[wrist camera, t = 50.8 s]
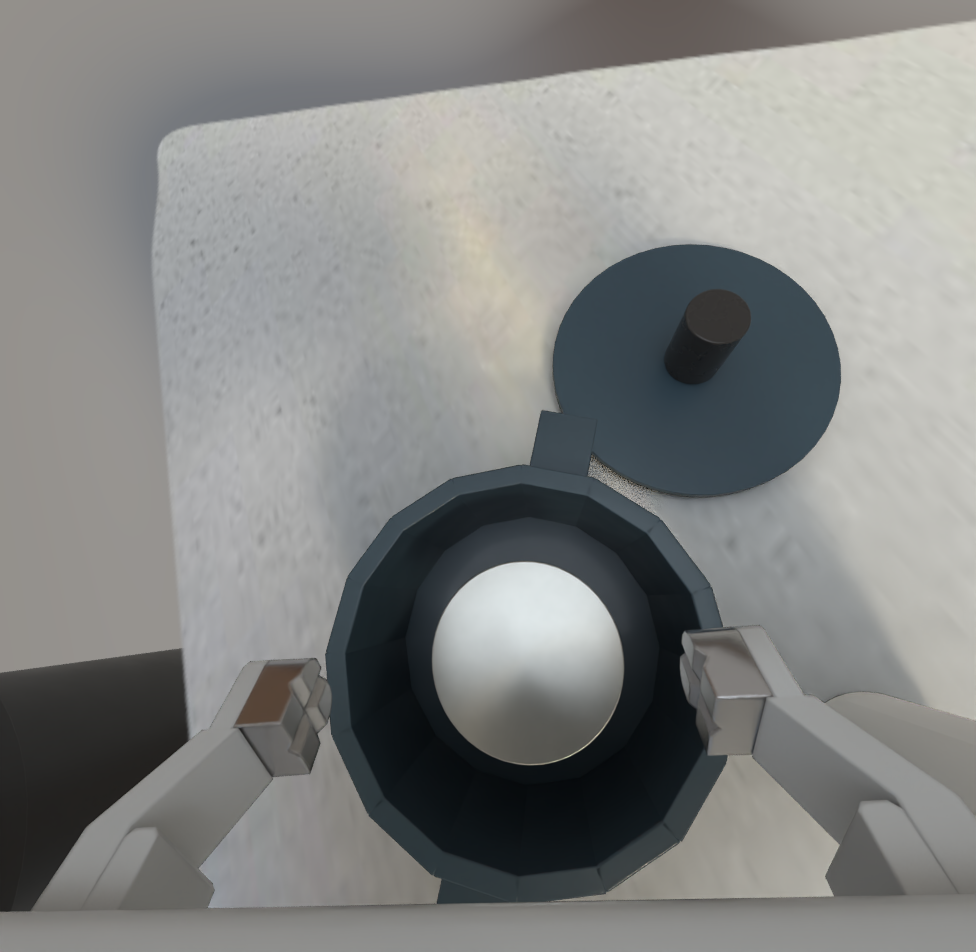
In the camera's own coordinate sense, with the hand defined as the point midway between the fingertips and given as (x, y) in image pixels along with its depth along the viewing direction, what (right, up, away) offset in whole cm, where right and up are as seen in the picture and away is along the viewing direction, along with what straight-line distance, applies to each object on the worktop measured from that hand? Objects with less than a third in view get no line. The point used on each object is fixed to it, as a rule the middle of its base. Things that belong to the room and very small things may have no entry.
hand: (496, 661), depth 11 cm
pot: (+2, -5, +15) cm, 16 cm away
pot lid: (+11, +11, +17) cm, 23 cm away
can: (+2, -4, +14) cm, 15 cm away
